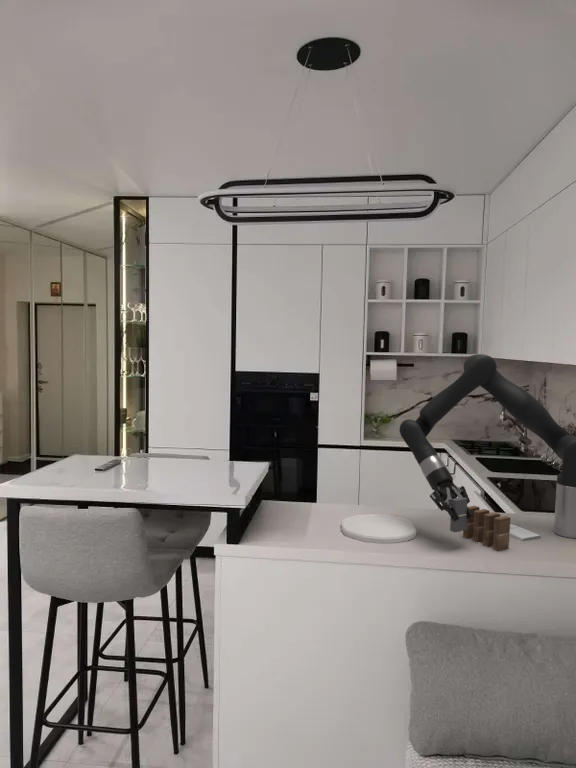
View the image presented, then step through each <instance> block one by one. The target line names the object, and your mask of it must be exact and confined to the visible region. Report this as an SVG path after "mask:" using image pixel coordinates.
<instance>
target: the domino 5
mask: <svg viewBox="0 0 576 768" xmlns="http://www.w3.org/2000/svg"><path fill="white" fill-rule="evenodd" d="M510 524H511V516H507V515H500V517H497V518H494V535H493V546H492V550H494V551H497V552H501V551H504V550H508V549H509V546H510V535H509V533H510Z"/></svg>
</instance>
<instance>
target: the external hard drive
mask: <svg viewBox="0 0 576 768" xmlns="http://www.w3.org/2000/svg"><path fill="white" fill-rule="evenodd" d="M509 537H512V538H514V539H517V540H519V541H522V542H527V541H532V540H538V539H542V535H540V534H538V533H535V532H534V531H533V532H532V531H531V530H528V529H526V528H523V527H520V526H517V525H515V524H511V523H510V533H509Z"/></svg>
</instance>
